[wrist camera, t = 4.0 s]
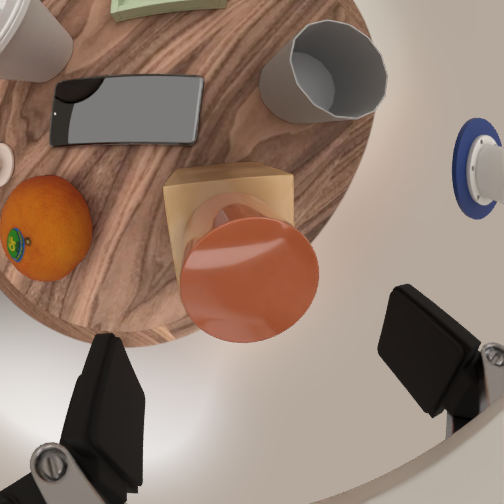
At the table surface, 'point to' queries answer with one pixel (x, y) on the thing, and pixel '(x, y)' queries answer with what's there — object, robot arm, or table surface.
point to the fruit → (45, 228)
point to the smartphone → (127, 110)
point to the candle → (6, 163)
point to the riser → (218, 182)
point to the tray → (158, 7)
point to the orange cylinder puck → (245, 269)
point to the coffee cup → (31, 42)
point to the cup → (324, 75)
